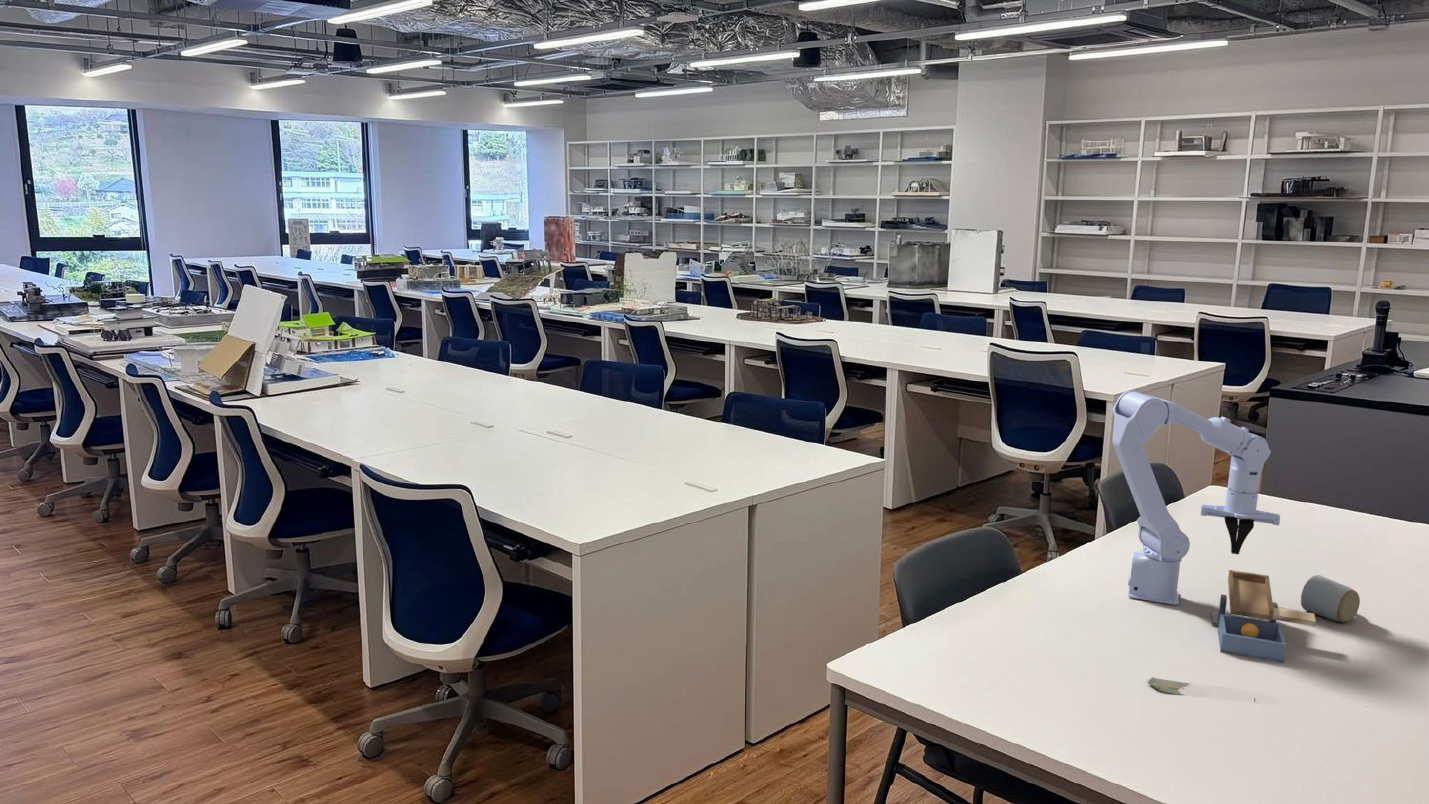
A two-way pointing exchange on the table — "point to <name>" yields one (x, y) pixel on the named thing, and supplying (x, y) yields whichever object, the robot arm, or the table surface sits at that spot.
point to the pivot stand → (1222, 609)
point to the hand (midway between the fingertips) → (1234, 552)
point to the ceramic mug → (1330, 599)
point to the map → (1168, 685)
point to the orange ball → (1249, 630)
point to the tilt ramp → (1259, 600)
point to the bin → (1251, 639)
